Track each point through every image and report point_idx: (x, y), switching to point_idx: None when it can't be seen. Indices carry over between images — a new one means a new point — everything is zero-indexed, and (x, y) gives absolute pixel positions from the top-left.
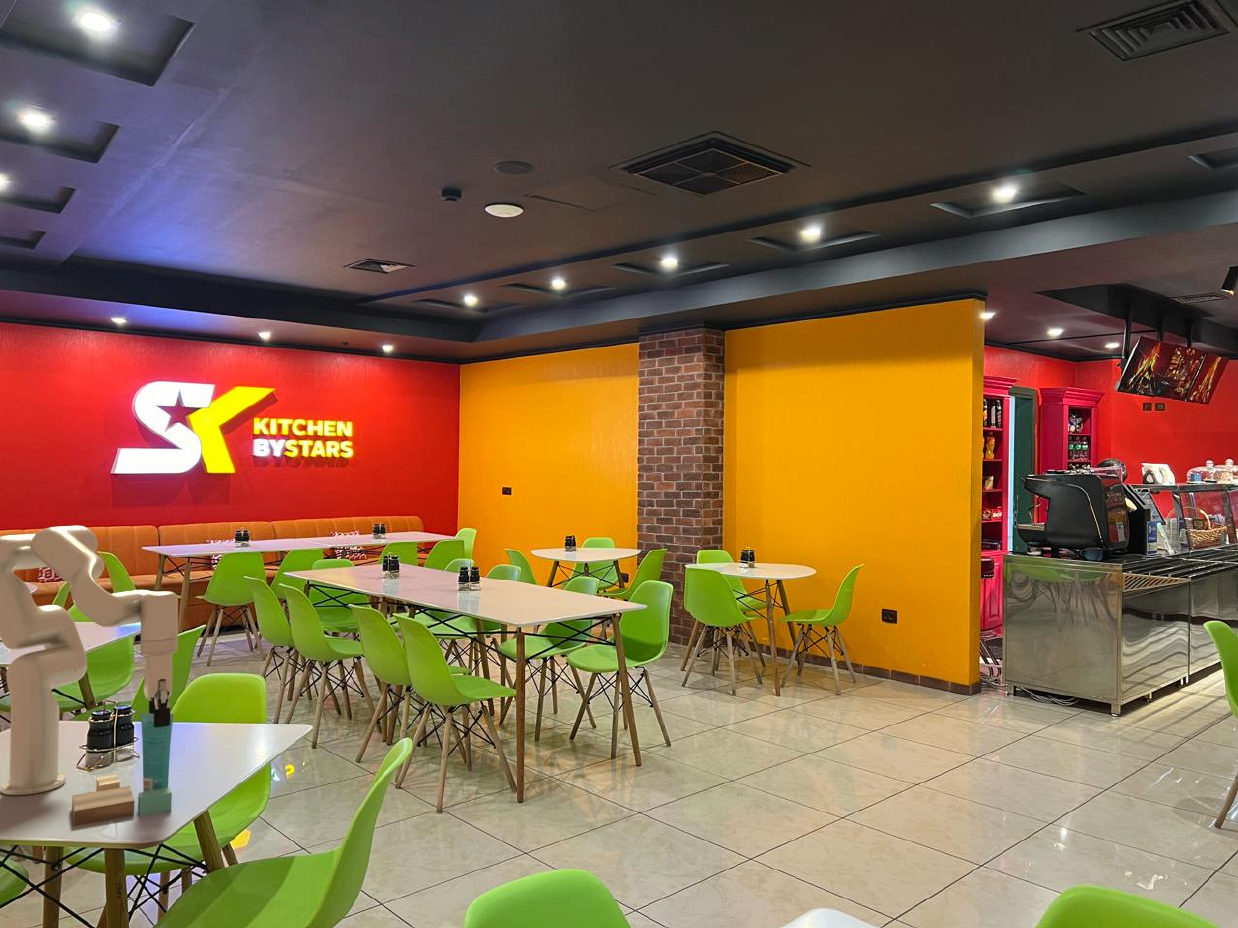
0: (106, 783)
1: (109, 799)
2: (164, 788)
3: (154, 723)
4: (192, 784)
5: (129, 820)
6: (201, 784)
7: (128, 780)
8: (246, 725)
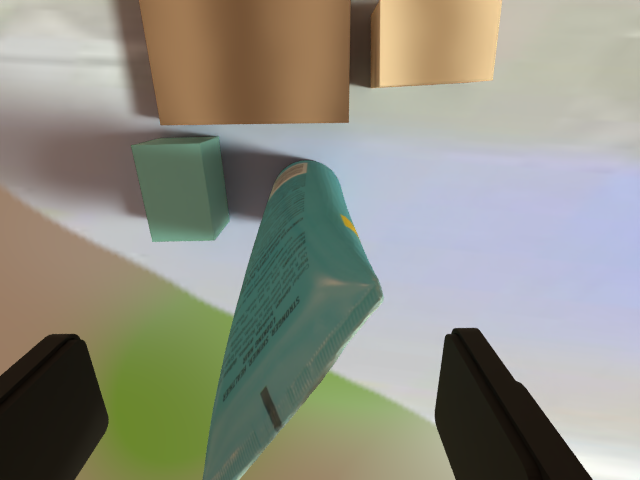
0: (389, 31)
1: (215, 38)
2: (209, 226)
3: (30, 355)
4: None
5: (130, 104)
6: None
7: (562, 131)
8: None
